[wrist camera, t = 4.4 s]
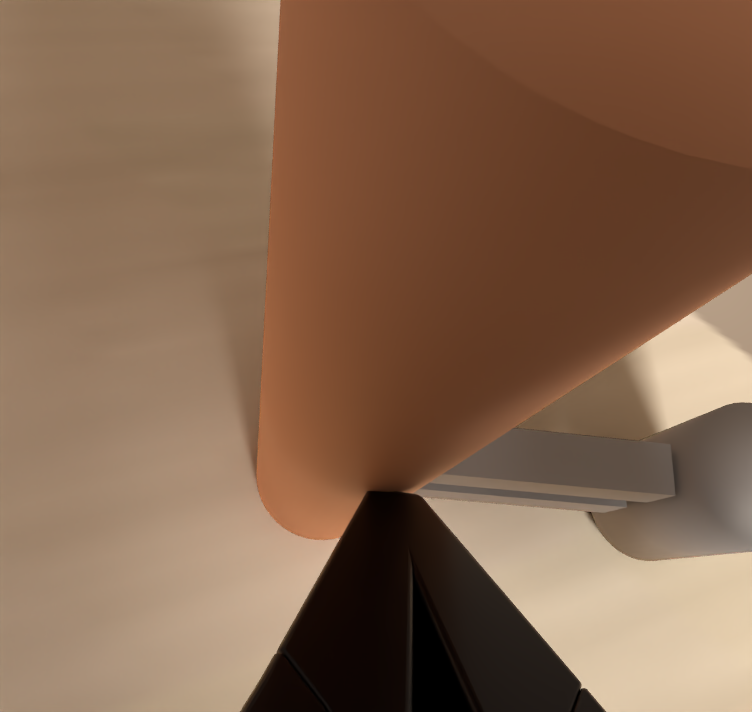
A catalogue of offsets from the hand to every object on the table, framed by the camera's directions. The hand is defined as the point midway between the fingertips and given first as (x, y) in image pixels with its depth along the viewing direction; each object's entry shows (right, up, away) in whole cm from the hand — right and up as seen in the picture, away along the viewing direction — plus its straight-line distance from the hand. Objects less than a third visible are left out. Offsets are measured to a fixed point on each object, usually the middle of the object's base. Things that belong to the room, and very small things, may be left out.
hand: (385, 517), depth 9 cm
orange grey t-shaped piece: (+3, -1, +7) cm, 8 cm away
